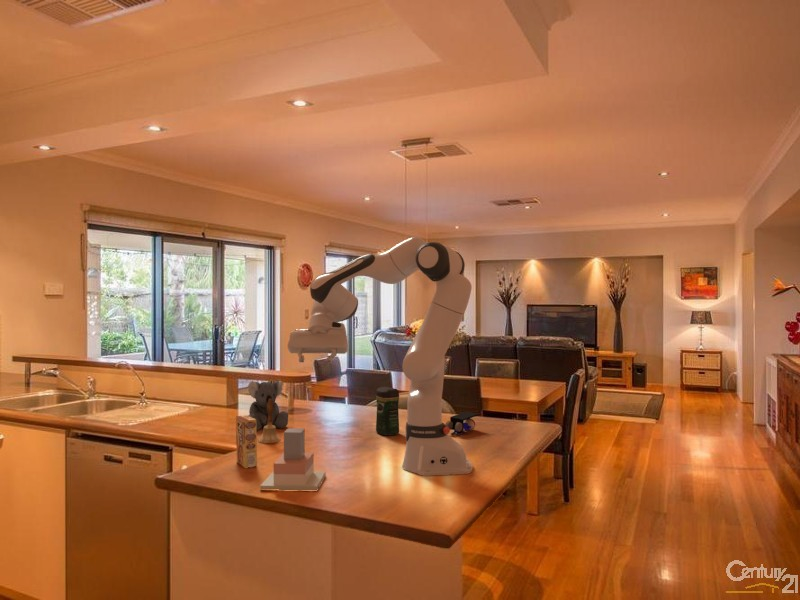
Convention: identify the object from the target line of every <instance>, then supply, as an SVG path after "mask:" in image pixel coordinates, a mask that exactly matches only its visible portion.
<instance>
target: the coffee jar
mask: <svg viewBox="0 0 800 600" xmlns="http://www.w3.org/2000/svg"><path fill="white" fill-rule="evenodd" d="M399 391H400V390H399V389H397V388H394V387H390V386H378V388H377V389H376V392H375V400H376V418H375V419H376V421H375V432H376V433H377V434H380V435H383V436H396V435H398V434H400V421H399V419H400V417H399V414H400V413H399V402H400V392H399Z"/></svg>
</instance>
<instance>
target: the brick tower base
mask: <svg viewBox="0 0 800 600" xmlns="http://www.w3.org/2000/svg"><path fill="white" fill-rule="evenodd" d="M314 466H315V465H314V452H307V451H305V456H304V457H303V458H302V460H284V452H282V454H281V455H280V456H279V457H278V458H277V459H276V460H275V461H274V462H273V470H272V472H271V473H270V474H269V475H268V477H266V479H265V480H264V481H263V482H262V483H260V487H259V488H260V489H279V490H317V489H318V487H319V485H320V484H321V485H322V483H323V482H322V481H324V480H325V478H326V472H327V471H326V470H325V471H324V470H323V471H319V470H317V471H316V470H314ZM324 477H325V478H324ZM323 479H324V480H323ZM321 482H322V483H321ZM321 485H320V486H321ZM319 488H320V487H319ZM260 489H259V490H260ZM318 490H319V489H318ZM318 490H317V491H318Z"/></svg>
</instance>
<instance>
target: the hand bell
mask: <svg viewBox="0 0 800 600" xmlns="http://www.w3.org/2000/svg"><path fill="white" fill-rule="evenodd" d="M273 409H274V405H273V401H272V399H269V400H268V403H267V413H268V423H267V425H266V424H265V425H263V431H262V434H261V437H260V438H259V439H258V440H257V441H258V443H261V444H276V443H279V442H281V438H280V437H279V435H278V433H277V428H276V427H275V426H274V425H272V413H273Z"/></svg>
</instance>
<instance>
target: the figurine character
mask: <svg viewBox="0 0 800 600" xmlns="http://www.w3.org/2000/svg"><path fill="white" fill-rule="evenodd" d="M477 416H479V413H476V412H471V411H463V412H460V413H458V414H455V415H452V416H450V418H449V420H448V421H446V422H445V424H446V425H447V426H448V427H449V429H450V431H451V430H452V431H453V432H450V435H453V436H454V434H456V436H460V435H462V434H463V433H464V432H465V431H466V432H467V431H474V429H475V427H476V422H475V420H474V419H472V418H474V417H477Z"/></svg>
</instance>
